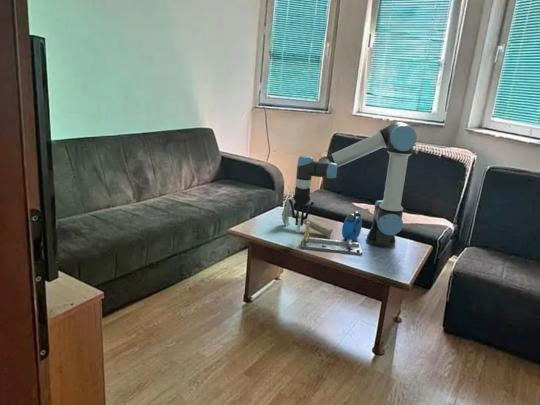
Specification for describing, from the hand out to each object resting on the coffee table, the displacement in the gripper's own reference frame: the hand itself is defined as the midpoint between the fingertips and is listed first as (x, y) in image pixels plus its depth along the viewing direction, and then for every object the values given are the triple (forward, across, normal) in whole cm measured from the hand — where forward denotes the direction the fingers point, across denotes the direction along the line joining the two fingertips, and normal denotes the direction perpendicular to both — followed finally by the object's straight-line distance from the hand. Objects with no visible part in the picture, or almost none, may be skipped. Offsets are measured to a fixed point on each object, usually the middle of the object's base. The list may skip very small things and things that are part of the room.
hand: (298, 231), depth 228 cm
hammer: (+6, -4, -19) cm, 20 cm away
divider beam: (+5, -17, +2) cm, 18 cm away
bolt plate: (+6, -17, +3) cm, 19 cm away
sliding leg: (+4, -4, +2) cm, 6 cm away
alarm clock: (+6, -28, -12) cm, 32 cm away
